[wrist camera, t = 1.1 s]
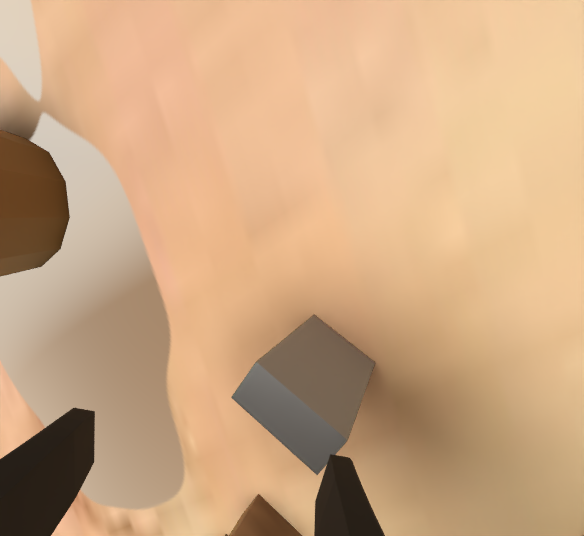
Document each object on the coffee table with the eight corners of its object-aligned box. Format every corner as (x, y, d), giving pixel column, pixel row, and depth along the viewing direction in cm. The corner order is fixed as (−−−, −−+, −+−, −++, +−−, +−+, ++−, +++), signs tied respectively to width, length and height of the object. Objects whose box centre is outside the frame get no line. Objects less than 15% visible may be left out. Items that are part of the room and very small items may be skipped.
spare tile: (375, 362, 21) (347, 440, 13) (354, 387, 21) (317, 475, 14) (314, 314, 22) (255, 361, 14) (296, 339, 22) (231, 397, 15)
